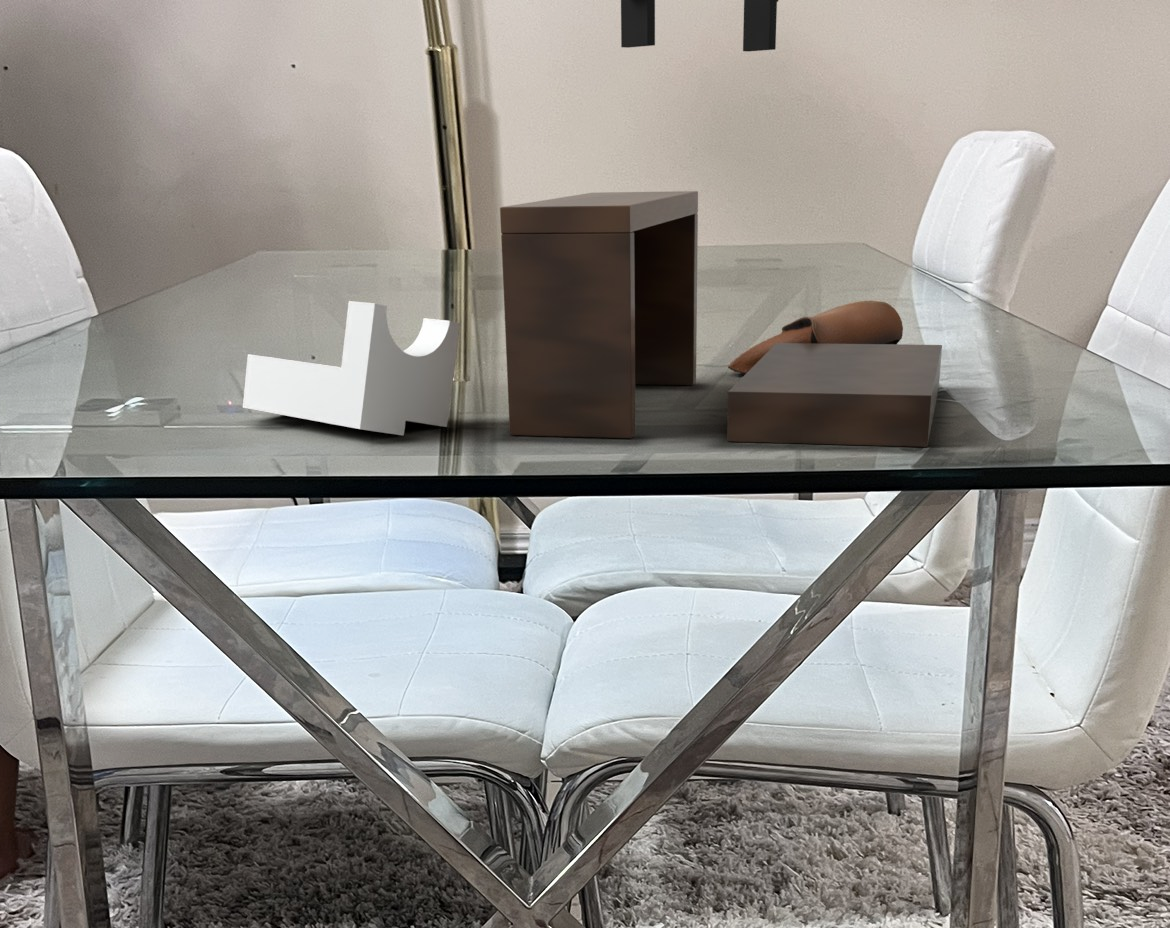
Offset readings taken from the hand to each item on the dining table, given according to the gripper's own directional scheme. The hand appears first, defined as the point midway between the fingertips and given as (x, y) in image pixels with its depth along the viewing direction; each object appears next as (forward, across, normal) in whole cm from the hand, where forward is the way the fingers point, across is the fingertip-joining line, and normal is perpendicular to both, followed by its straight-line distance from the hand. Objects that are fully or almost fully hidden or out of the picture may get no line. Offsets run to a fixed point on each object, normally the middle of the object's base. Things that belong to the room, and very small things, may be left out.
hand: (700, 49), depth 106 cm
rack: (+23, +14, +17) cm, 32 cm away
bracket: (+23, +34, 0) cm, 41 cm away
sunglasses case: (+23, -6, +8) cm, 25 cm away
